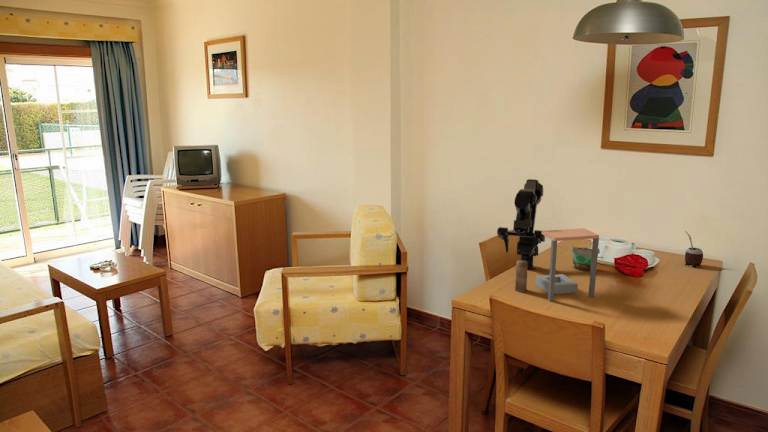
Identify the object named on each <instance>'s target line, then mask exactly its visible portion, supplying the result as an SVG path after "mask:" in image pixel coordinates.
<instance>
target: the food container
mask: <svg viewBox="0 0 768 432" xmlns="http://www.w3.org/2000/svg"><path fill="white" fill-rule="evenodd" d="M570 251H571V252H572V267H573V269H575V270H578V271H582V272H590V270H591V258H592V248H590V247H589V248H588V247H575V246H574V245H572V246H571V249H570ZM600 253H601V250H600V248H598V256H599V254H600ZM598 256H597V258H598Z"/></svg>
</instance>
